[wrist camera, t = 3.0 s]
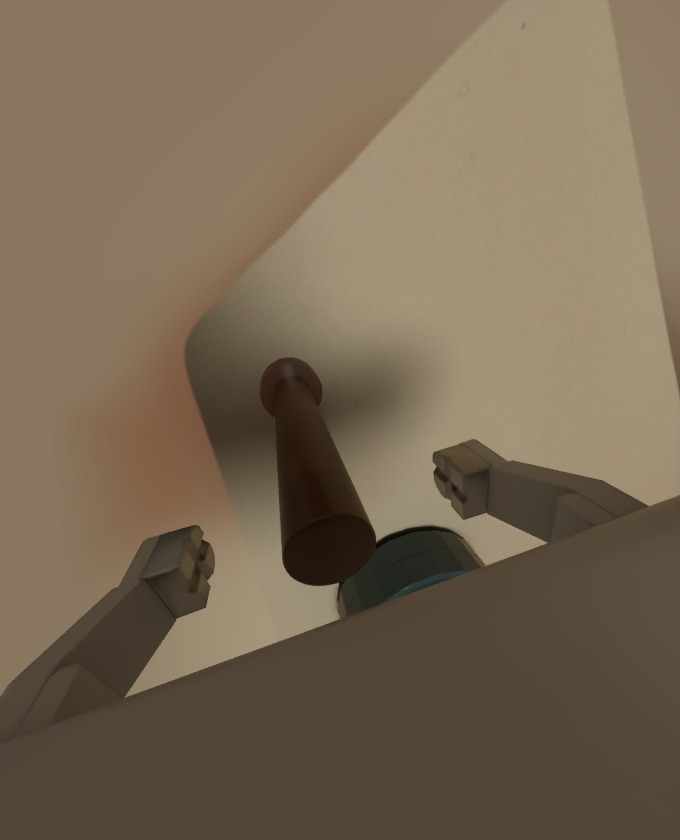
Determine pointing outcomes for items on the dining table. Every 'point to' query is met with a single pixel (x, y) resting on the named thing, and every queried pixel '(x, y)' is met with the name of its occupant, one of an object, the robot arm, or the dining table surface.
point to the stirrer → (313, 483)
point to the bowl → (407, 569)
